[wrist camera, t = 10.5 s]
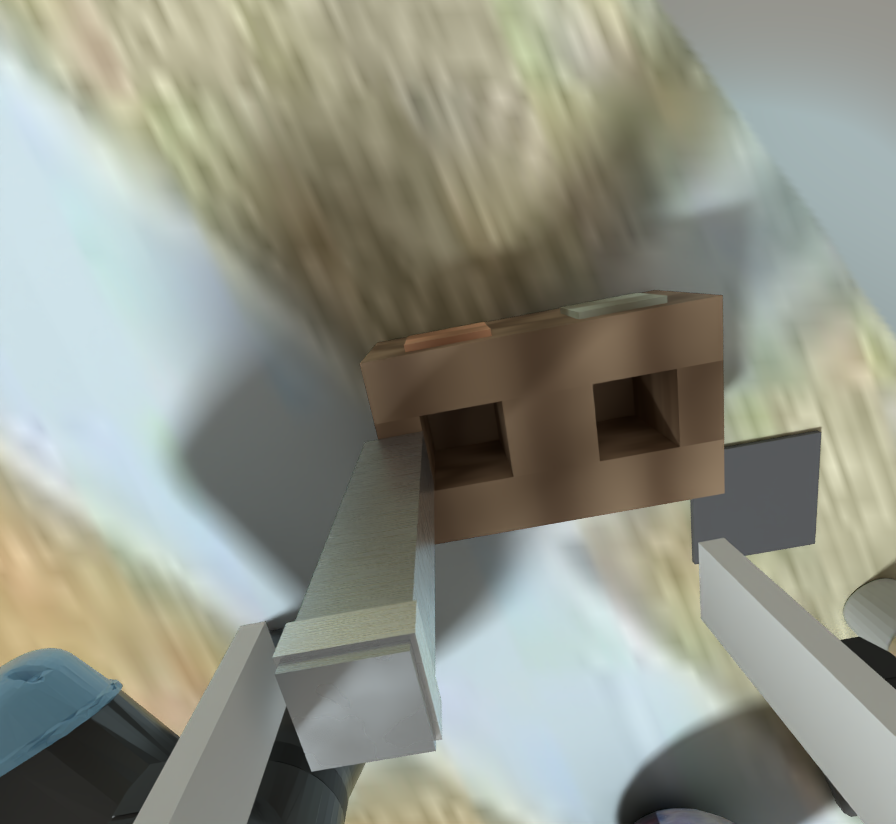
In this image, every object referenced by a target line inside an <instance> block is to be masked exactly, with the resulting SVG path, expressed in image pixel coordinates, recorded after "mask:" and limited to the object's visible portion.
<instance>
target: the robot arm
mask: <svg viewBox="0 0 896 824" xmlns="http://www.w3.org/2000/svg"><path fill="white" fill-rule="evenodd" d="M698 545H699V576H700V606H701V619H702V620H703V622H704V623H705V624H706V626H707V627H708V628H709V629H710V631H711V632H712V633H713V634H714V636H715V637H716V638H717V639H718V641H719V642H720V643H721V644H722V646H723V647H724V648H725V649H726V651H727V652H728V653H729V654H730V656H731V657H732V658H733V659H734V661H735V662H736V663H737V664H738V666H739V667H740V668H741V670H742V671H743V672H744V673H745V675H746V676H747V677H748V678H749V680H750V681H751V682H752V683H753V685H754V686H755V687H756V688H757V690H758V691H759V692H760V693H761V695H762V696H763V697H764V698H765V700H766V701H767V702H768V703H769V705H770V706H771V707H772V708H773V710H774V711H775V712H776V714H777V715H778V716H779V717H780V719H781V720H782V721H783V722H784V724H785V725H786V726H787V727H788V729H789V730H790V731H791V732H792V734H793V735H794V736H795V737H796V739H797V740H798V741H799V742H800V744H801V745H802V746H803V747H804V749H805V750H806V751H807V752H808V754H809V755H810V756H811V758H812V759H813V760H814V761H815V763H816V764H817V765H818V766H819V768H820V769H821V770H822V771H823V773H824V774H825V775H826V776H827V778H828V779H829V780H830V781H831V783H832V784H833V785H834V786H835V788H836V789H837V790H838V791H839V793H840V794H841V795H842V796H843V798H844V799H845V800H846V802H847V803H848V804H849V805H850V807H851V808H852V809H853V810H854V812H855V813H856V814H857V815H858V817H859V818H860V819H861V820H862V822H863V823H864V824H896V657H895V656H894V655H893V654H892V653H890V652H888V651H886V650H885V649H883V648H881V647H879V646H877V645H875V644H873V643H871V642H869V641H867V640H865V639H863V638H862V637H855V638H849V639H844V640H839V639H838V638H837V637H836V636H835V635H833V634H832V633H831V632H830V631H829V630H828V629H827V628H826V627H824V626H823V625H822V624H821V623H820V622H819V621H818V620H816V619H815V618H814V617H813V616H812V615H811V614H810V613H809V612H807V611H806V610H805V609H804V608H803V607H802V606H801V605H799V604H798V603H797V602H796V601H795V600H794V599H793V598H792V597H790V596H789V595H788V594H787V593H786V592H785V591H784V590H783V589H781V588H780V587H779V586H778V585H777V584H776V583H775V582H773V581H772V580H771V579H770V578H769V577H768V576H767V575H766V574H764V573H763V572H762V571H761V570H760V569H759V568H758V567H756V566H755V565H754V564H753V563H752V562H751V561H750V560H749V559H747V558H746V557H745V556H744V555H743V554H742V553H741V552H740V551H738V550H737V549H736V548H735V547H734V546H733V545H732V544H730V543H729V542H728V541H727V540H726V539H725V538H720V539H715V540H710V541H704V542H699V543H698ZM283 630H284V629H281V630H275V631H270V632H269V630H268V627H267V624H266V621H265V622H259V623H254V624H248V625H243V626H240V628H239V630H238V632H237V633H236V635H235V637H234V639H233V641H232V643H231V644H230V646H229V648H228V650H227V652H226V654H225V655H224V657H223V659H222V661H221V663H220V665H219V667H218V668H217V670H216V672H215V674H214V676H213V678H212V679H211V681H210V683H209V685H208V687H207V689H206V690H205V692H204V694H203V696H202V698H201V700H200V701H199V703H198V705H197V707H196V709H195V711H194V712H193V714H192V716H191V718H190V720H189V722H188V723H187V725H186V727H185V729H184V731H183V733H182V734H181V736H180V737H179V736H178V735H177V734H175V733H174V732H173V731H172V730H170V729H169V728H168V727H167V726H165V725H164V724H163V723H162V722H160V721H159V720H158V719H157V718H155V717H154V716H153V715H152V714H151V713H149V712H148V711H147V710H146V709H144V708H143V707H142V706H141V705H139V704H138V703H137V702H136V701H134V700H133V699H132V698H131V697H129V696H128V695H127V694H126V693H124V692H123V691H122V690H121V689H122V686H123V685H122V684H121V683H120V682H119V681H118V680H112V679H107V678H106V677H104V676H103V675H101V674H100V673H99V672H97V671H96V670H94V669H93V668H92V667H90V666H89V665H87V664H86V663H84V662H83V661H82V660H80V659H79V658H77V657H76V656H74V655H73V654H72V653H70V652H67V651H65V650H62V649H55V648H47V649H39V650H35V651H31V652H28V653H26V654H23V655H21V656H19V657H17V658H15V659H13V660H11V661H9V662H8V663H6V664H4V665H3V666H1V667H0V824H344V822H345V816H346V811H347V805H348V800H349V797H350V795H351V793H352V790H353V788H354V786H355V784H356V782H357V780H358V778H359V776H360V774H361V772H362V770H363V767H364V765H365V763H360V764H354V765H348V766H342V767H336V768H330V769H324V770H318V771H312V772H311V769H310V766H309V764H308V761H307V758H306V756H305V753H304V751H303V748H302V745H301V743H300V740H299V737H298V735H297V732H296V730H295V727H294V724H293V722H292V719H291V716H290V714H289V711H288V709H287V706H286V703H285V701H284V698H283V695H282V693H281V690H280V688H279V685H278V682H277V680H276V677H275V672H276V666H275V664H274V661H273V659H272V657H273V654H274V652H275V650H276V647H277V645H278V642H279V640H280V637H281V635H282V633H283Z"/></svg>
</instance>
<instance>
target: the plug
mask: <svg viewBox="0 0 896 824" xmlns="http://www.w3.org/2000/svg"><path fill="white" fill-rule="evenodd" d="M272 659H273V661H274V664H275V666H276V672H275V677H276V680H277V682H278V685H279V688H280V690H281V693H282V695H283V698H284V701H285V703H286V706H287V709H288V711H289V714H290V716H291V719H292V722H293V724H294V727H295V730H296V732H297V735H298V737H299V740H300V743H301V745H302V748H303V751H304V753H305V756H306V758H307V761H308V764H309V766H310V769H311V772H312V771H318V770H324V769H330V768H336V767H342V766H348V765H354V764H360V763H366V762H372V761H378V760H384V759H390V758H396V757H402V756H408V755H414V754H420V753H426V752H432V751H436V740H441V739H442V707H441V697H440V693H439V689H438V685H437V681H436V677H435V548H434V481H433V476H432V472H431V467H430V462H429V458H428V453H427V448H426V444H425V439H424V434H423V431H421V432H416V433H411V434H405V435H400V436H394V437H389V438H383V439H378V440H373V441H367V442H365V444H364V446H363V449H362V451H361V454H360V456H359V459H358V462H357V464H356V467H355V469H354V472H353V474H352V477H351V479H350V482H349V485H348V487H347V490H346V492H345V495H344V497H343V500H342V503H341V505H340V508H339V510H338V513H337V515H336V518H335V521H334V523H333V526H332V528H331V531H330V533H329V536H328V538H327V541H326V544H325V546H324V549H323V551H322V554H321V556H320V559H319V562H318V564H317V567H316V569H315V572H314V574H313V577H312V579H311V582H310V585H309V587H308V590H307V592H306V595H305V597H304V600H303V603H302V605H301V608H300V610H299V613H298V615H297V618H296V620H295V622H289V623H286V625H285V628H284V630H283V633H282V635H281V637H280V640H279V642H278V645H277V647H276V650H275V652H274V654H273V657H272Z"/></svg>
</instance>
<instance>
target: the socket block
mask: <svg viewBox="0 0 896 824" xmlns="http://www.w3.org/2000/svg"><path fill="white" fill-rule="evenodd" d="M360 367H361V371H362V375H363V379H364V383H365V387H366V391H367V396H368V400H369V404H370V408H371V412H372V416H373V420H374V424H375V428H376V432H377V437H378V439H383V438H389V437H394V436H400V435H405V434H411V433H416V432H421V431H423V434H424V439H425V444H426V448H427V453H428V458H429V462H430V467H431V472H432V476H433V481H434V544H440V543H446V542H451V541H457V540H463V539H468V538H474V537H480V536H485V535H491V534H497V533H502V532H508V531H514V530H520V529H525V528H531V527H537V526H542V525H548V524H554V523H559V522H565V521H571V520H576V519H582V518H588V517H593V516H599V515H605V514H610V513H616V512H622V511H627V510H633V509H639V508H644V507H650V506H656V505H661V504H667V503H673V502H678V501H684V500H690V499H695V498H701V497H707V496H712V495H718V494H724V493H725V484H724V380H723V295H713V294H700V293H687V292H673V291H660V290H653V291H648V292H642V293H633V294H628V295H623V296H617V297H612V298H607V299H601V300H596V301H591V302H586V303H580V304H575V305H570V306H565V307H560V308H558V309H553V310H547V311H542V312H537V313H532V314H526V315H521V316H516V317H510V318H505V319H500V320H495V321H489V322H480V323H475V324H470V325H464V326H459V327H454V328H448V329H443V330H438V331H433V332H427V333H422V334H417V335H411V336H408V337H405V338H400V339H394V340H389V341H384V342H378V343H377V344H376V345H375V346H374V347H373V348H372V350H371V351H370V352H369V353H368V354H367V356H366V357H365V358H364V359H363V360H362V361H361V363H360Z"/></svg>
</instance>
